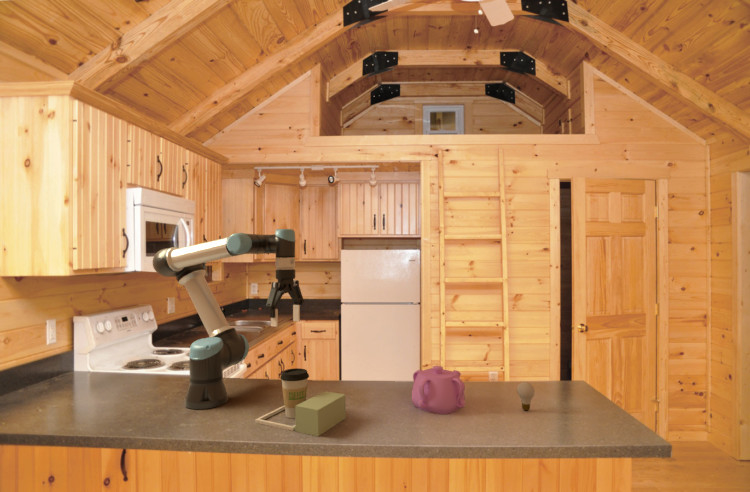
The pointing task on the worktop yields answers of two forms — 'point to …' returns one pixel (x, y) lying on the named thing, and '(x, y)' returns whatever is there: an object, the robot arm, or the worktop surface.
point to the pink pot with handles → (438, 390)
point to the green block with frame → (313, 414)
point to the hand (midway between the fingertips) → (285, 323)
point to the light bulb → (525, 394)
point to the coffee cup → (294, 389)
